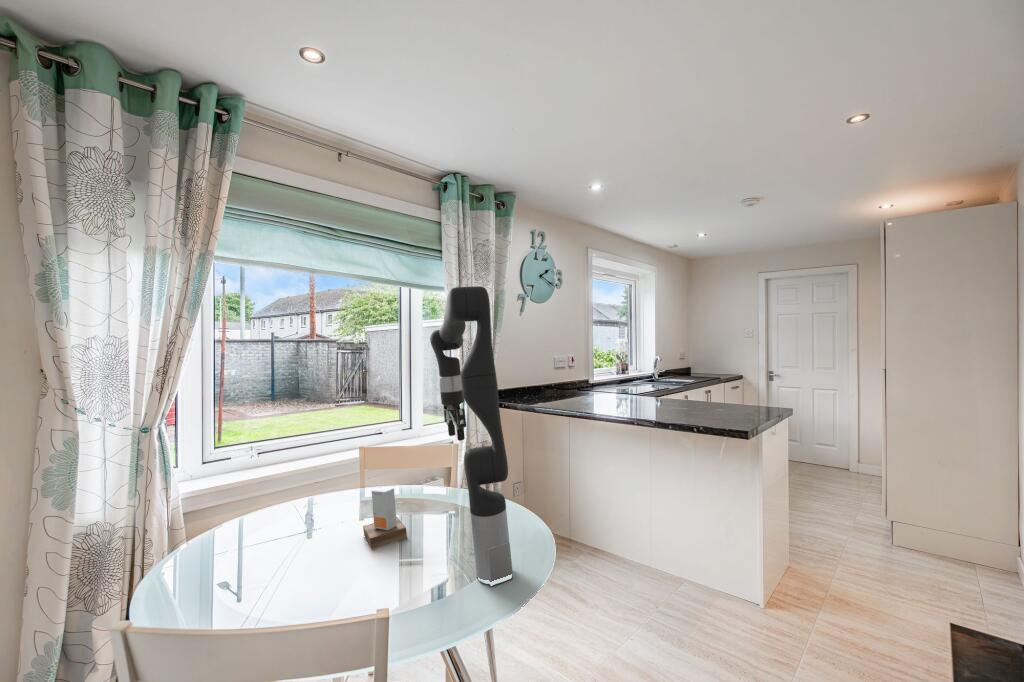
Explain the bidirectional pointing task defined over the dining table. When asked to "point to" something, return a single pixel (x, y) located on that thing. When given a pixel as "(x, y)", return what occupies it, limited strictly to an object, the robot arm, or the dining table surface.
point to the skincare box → (384, 508)
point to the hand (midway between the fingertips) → (456, 437)
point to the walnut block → (384, 534)
